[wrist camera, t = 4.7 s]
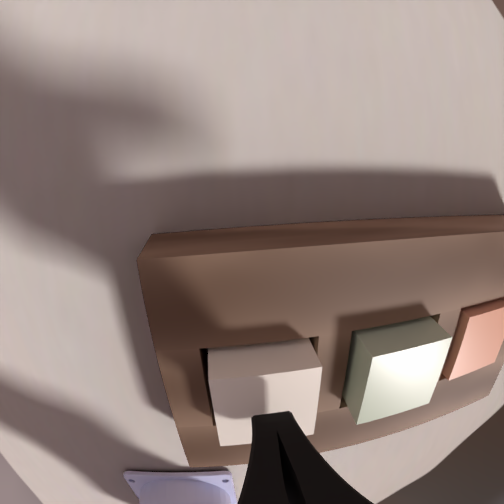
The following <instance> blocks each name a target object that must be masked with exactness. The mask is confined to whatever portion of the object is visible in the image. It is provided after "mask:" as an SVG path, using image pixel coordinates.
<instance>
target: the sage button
mask: <svg viewBox="0 0 504 504" xmlns="http://www.w3.org/2000/svg"><path fill="white" fill-rule="evenodd" d="M451 340H452V336H451V335H450V334H448V333H447V332H446V331H445V330H444V329H443V328H442V327H441V326H440V325H439V324H438V323H437V322H436V321H435V320H434V319H432V318H431V317H430V316H427V317H422V318H418V319H413V320H408V321H403V322H398V323H393V324H388V325H383V326H377V327H372V328H366V329H361V330H355V331H352V335H351V342H350V349H349V356H348V362H347V368H346V374H345V380H344V386H343V391H342V396H343V398H344V400H345V402H346V404H347V406H348V408H349V410H350V413H351V415H352V417H353V419H354V421H355V423H356V425H358V424H362V423H366V422H370V421H374V420H377V419H381V418H384V417H388V416H391V415H394V414H398V413H401V412H404V411H407V410H410V409H413V408H416V407H419V406H422V405H425V404H428V403H429V402H430V399H431V397H432V394H433V392H434V389H435V387H436V384H437V381H438V379H439V376H440V373H441V370H442V367H443V365H444V362H445V359H446V356H447V353H448V350H449V346H450V343H451Z"/></svg>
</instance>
